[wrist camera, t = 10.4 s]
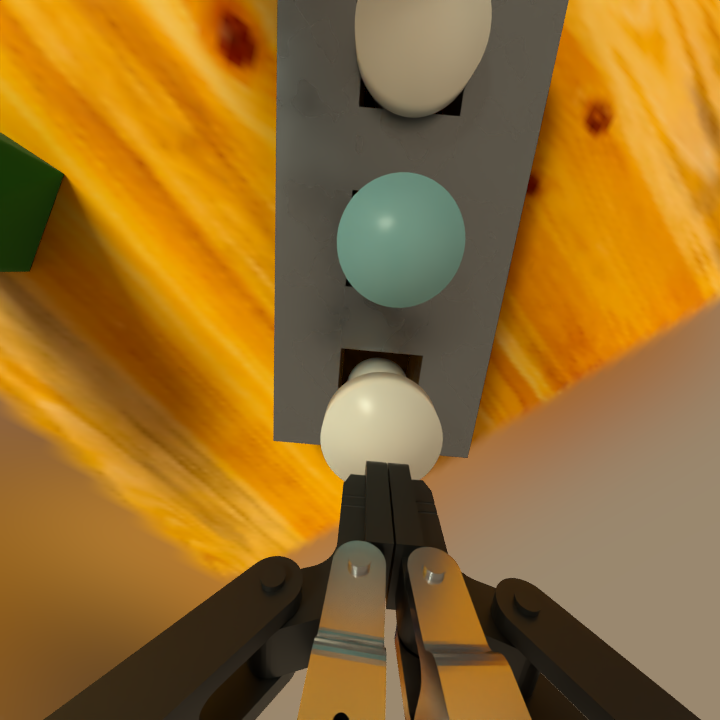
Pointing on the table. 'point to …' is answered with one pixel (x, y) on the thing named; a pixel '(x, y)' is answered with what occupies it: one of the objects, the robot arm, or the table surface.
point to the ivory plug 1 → (419, 51)
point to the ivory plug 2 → (380, 422)
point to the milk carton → (23, 203)
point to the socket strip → (385, 156)
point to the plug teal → (401, 239)
